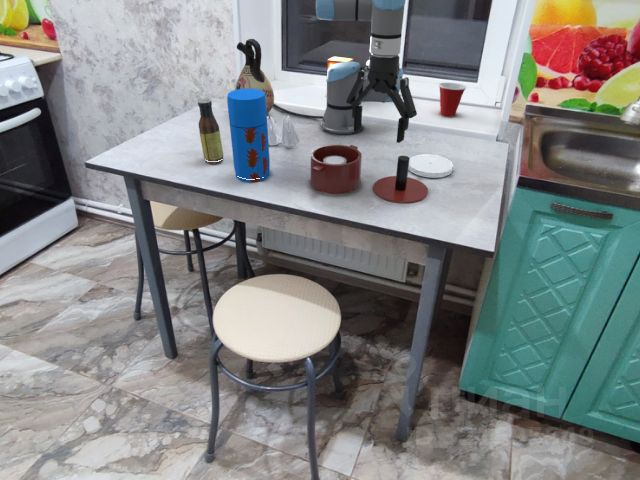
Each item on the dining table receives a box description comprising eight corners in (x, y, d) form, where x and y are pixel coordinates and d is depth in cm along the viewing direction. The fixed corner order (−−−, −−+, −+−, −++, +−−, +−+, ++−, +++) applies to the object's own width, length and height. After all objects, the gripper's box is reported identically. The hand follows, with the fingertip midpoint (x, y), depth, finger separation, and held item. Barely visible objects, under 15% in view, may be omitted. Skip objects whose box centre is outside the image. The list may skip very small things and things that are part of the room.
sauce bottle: (227, 158, 157) (220, 98, 145) (218, 166, 152) (210, 105, 140) (209, 156, 158) (201, 96, 147) (200, 163, 153) (191, 102, 142)
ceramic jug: (228, 116, 190) (220, 36, 173) (260, 108, 198) (254, 31, 182) (253, 128, 179) (247, 44, 163) (285, 118, 188) (282, 38, 171)
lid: (362, 194, 137) (364, 160, 131) (389, 174, 147) (392, 142, 141) (412, 211, 129) (417, 175, 123) (436, 189, 140) (441, 155, 134)
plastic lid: (442, 184, 142) (444, 177, 141) (399, 173, 148) (400, 166, 147) (458, 167, 152) (459, 160, 150) (417, 157, 158) (418, 150, 157)
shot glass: (344, 187, 139) (345, 165, 135) (321, 185, 140) (321, 164, 136) (346, 177, 145) (347, 156, 141) (324, 175, 146) (324, 154, 142)
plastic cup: (465, 113, 195) (470, 83, 188) (456, 120, 187) (461, 90, 181) (440, 108, 200) (444, 79, 193) (430, 115, 192) (434, 85, 185)
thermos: (236, 167, 151) (228, 88, 137) (270, 166, 152) (265, 87, 138) (234, 183, 142) (225, 100, 128) (270, 182, 143) (265, 99, 129)
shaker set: (300, 146, 165) (299, 115, 159) (295, 150, 162) (294, 119, 156) (270, 140, 169) (268, 110, 163) (264, 145, 166) (262, 114, 160)
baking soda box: (326, 96, 212) (327, 58, 203) (333, 92, 217) (334, 55, 208) (345, 99, 208) (347, 61, 199) (352, 95, 213) (353, 58, 204)
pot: (295, 189, 139) (294, 160, 134) (333, 166, 152) (334, 138, 147) (337, 204, 132) (338, 173, 127) (373, 178, 145) (375, 149, 140)
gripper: (335, 50, 122) (333, 129, 134) (423, 65, 110) (412, 150, 122) (351, 45, 127) (348, 121, 139) (437, 59, 115) (425, 141, 127)
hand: (378, 135), depth 130 cm, fingers open, 13 cm apart
